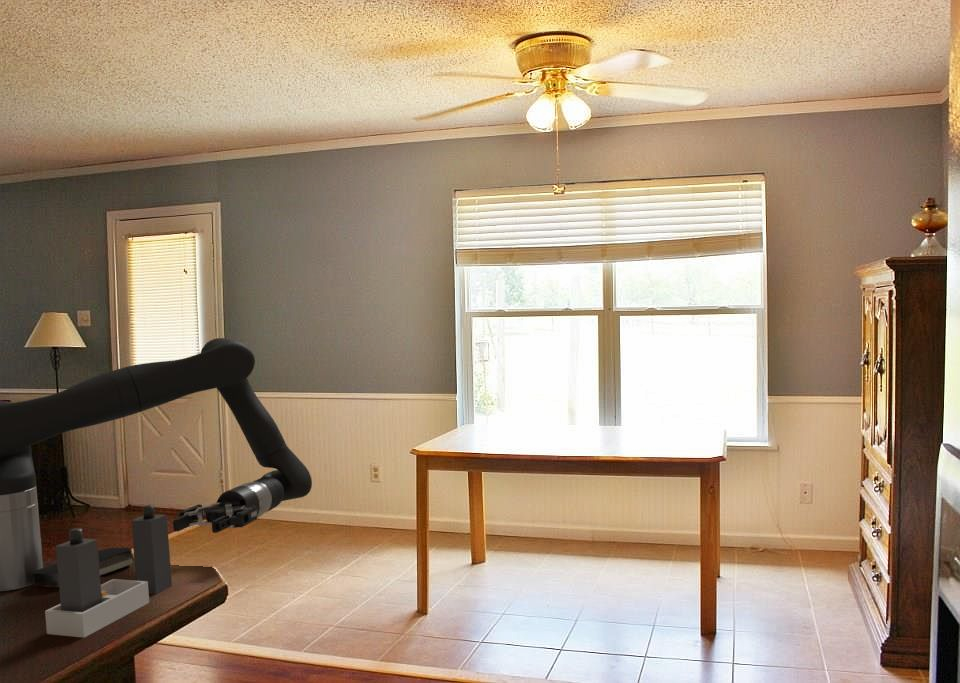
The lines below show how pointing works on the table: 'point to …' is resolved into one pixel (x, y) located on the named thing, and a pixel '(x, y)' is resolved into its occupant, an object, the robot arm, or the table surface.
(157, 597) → the table surface
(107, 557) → the black sponge
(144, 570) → the plug
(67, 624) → the grey rectangular tray
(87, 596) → the twin plug
